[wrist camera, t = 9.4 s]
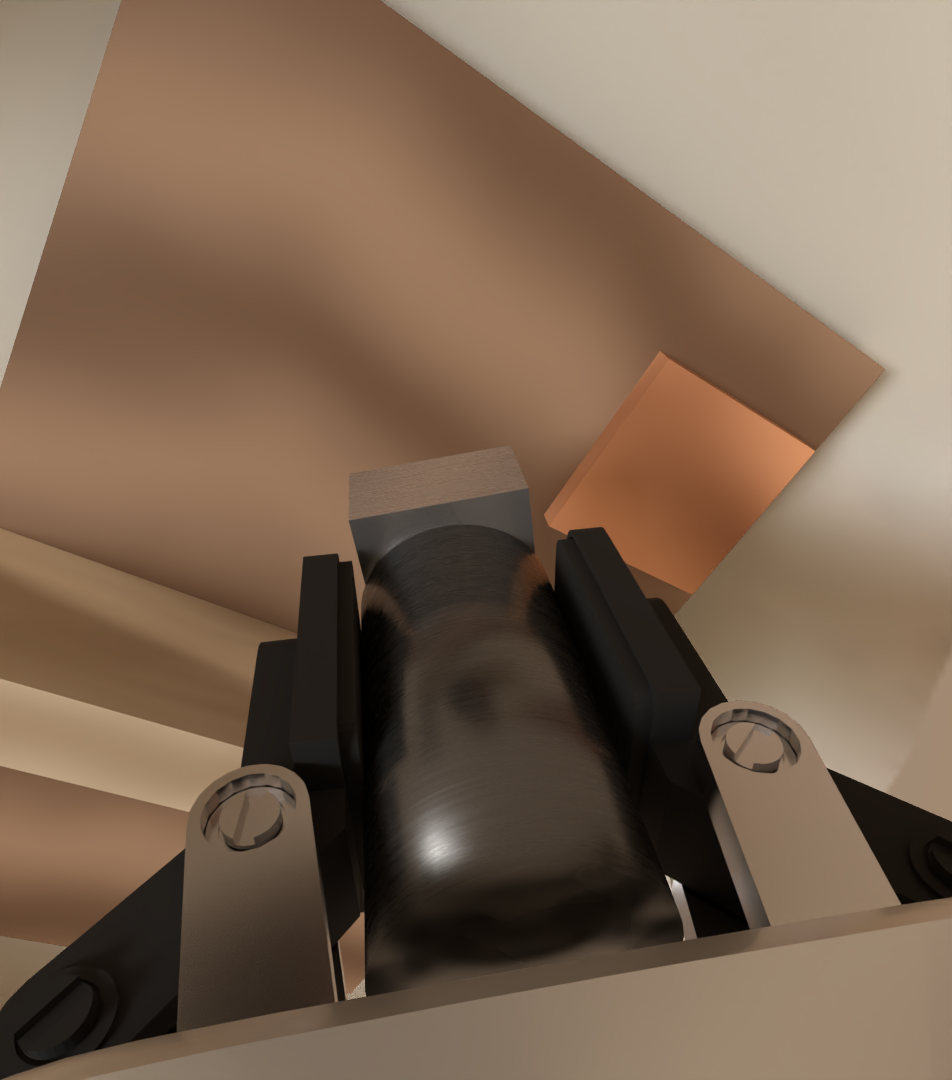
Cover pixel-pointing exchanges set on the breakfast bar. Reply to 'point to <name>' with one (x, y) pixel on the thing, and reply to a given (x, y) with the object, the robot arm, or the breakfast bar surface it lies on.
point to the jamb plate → (329, 393)
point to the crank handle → (484, 744)
